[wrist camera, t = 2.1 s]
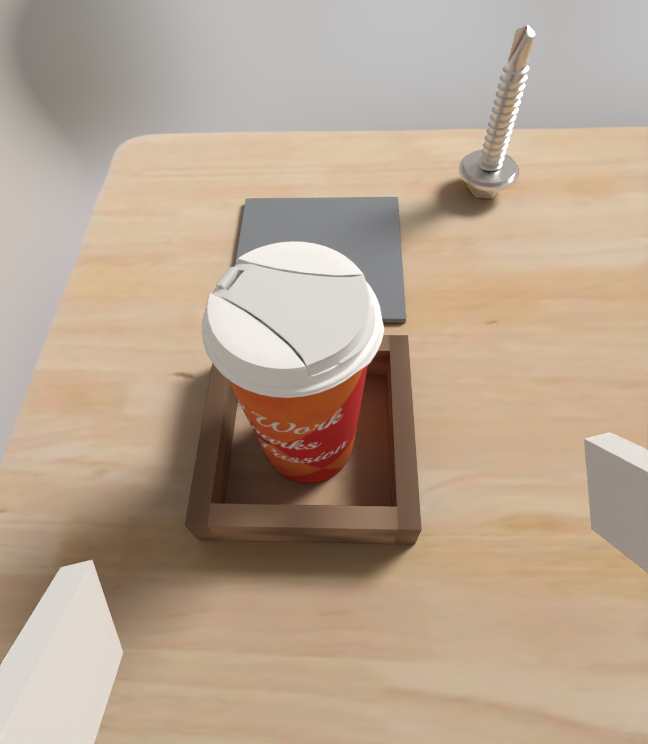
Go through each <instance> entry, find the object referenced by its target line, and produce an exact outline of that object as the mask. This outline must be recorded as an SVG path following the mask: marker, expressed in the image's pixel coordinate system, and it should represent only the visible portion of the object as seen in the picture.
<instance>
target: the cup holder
mask: <svg viewBox="0 0 648 744" xmlns="http://www.w3.org/2000/svg"><path fill="white" fill-rule="evenodd" d="M366 376H387V394H388V419H389V443H390V468H391V492H392V507H388V506H330V505H273V504H224V500H225V492H226V485H227V477H228V470H229V462H230V455H231V447H232V440H233V432H234V425H235V417H236V410H237V402H238V398H237V396H236V394H235V392H234V390H233V388H232V386H231V384H230V382H229V380H228V379H227V378H226V377H225V376H223V375H222V374H221V373H220V371H219V370H218V369H217V368H216V367H215V366H214V364H213V363H212V369H211V374H210V380H209V386H208V392H207V398H206V404H205V410H204V416H203V422H202V428H201V433H200V439H199V445H198V451H197V457H196V463H195V469H194V475H193V481H192V487H191V492H190V498H189V504H188V510H187V516H186V522H185V526H186V527H187V528H188V529H189V530H190V531H191V532H192V533H193V534H194V536H195V537H196V538H197V539H198V540H229V541H277V542H326V543H375V544H415V543H416V541H417V539H418V536H419V534H420V532H421V517H420V503H419V488H418V474H417V459H416V445H415V431H414V416H413V402H412V387H411V373H410V358H409V344H408V335H383V338H382V342H381V344H380V347H379V349H378V351H377V353H376V355H375V356H374V358H373V359H372V361H371V362H370V364H368V366H367V372H366Z"/></svg>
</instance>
